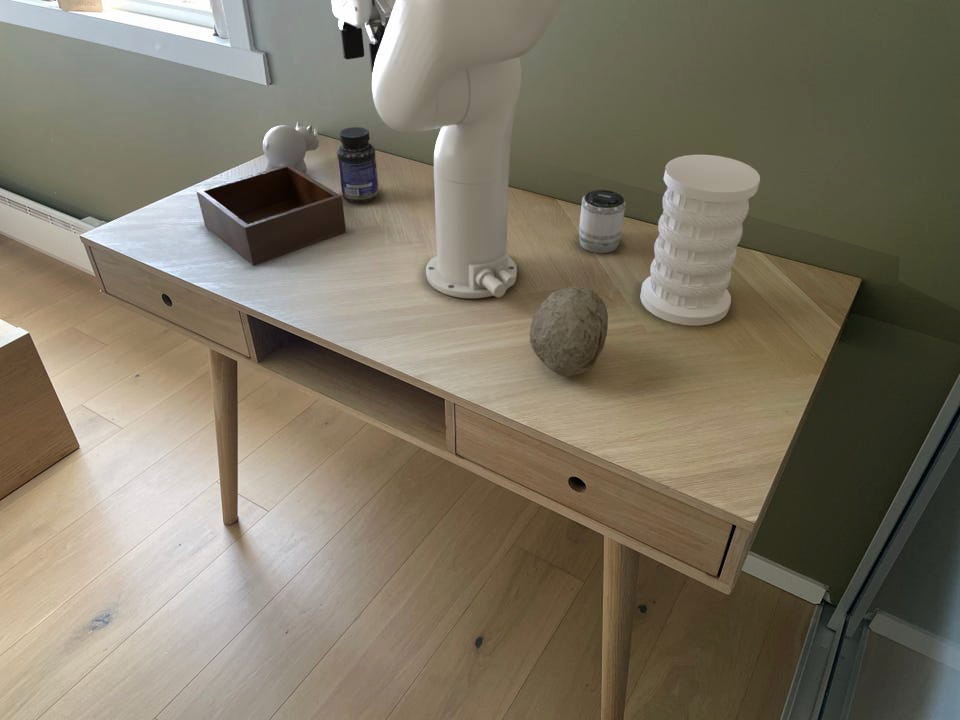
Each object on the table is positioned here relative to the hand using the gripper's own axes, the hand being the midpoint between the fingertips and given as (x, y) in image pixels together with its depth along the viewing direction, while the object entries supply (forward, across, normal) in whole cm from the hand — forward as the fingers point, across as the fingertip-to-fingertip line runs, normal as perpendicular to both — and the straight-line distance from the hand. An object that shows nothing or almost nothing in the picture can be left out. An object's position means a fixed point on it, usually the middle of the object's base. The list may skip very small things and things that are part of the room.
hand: (367, 64), depth 105 cm
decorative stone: (+23, +50, 0) cm, 55 cm away
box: (+22, 0, -18) cm, 28 cm away
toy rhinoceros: (+21, -20, -7) cm, 30 cm away
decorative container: (+23, +47, +22) cm, 57 cm away
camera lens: (+23, +29, +22) cm, 43 cm away
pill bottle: (+22, -4, -2) cm, 22 cm away
